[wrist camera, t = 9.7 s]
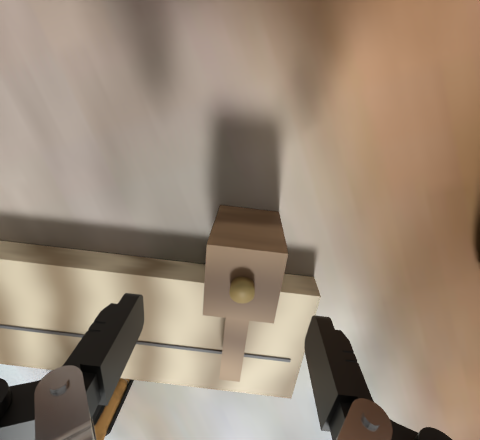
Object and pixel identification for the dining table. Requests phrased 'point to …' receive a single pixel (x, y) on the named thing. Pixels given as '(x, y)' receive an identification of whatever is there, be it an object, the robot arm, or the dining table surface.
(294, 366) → the board
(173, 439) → the dining table surface
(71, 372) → the robot arm
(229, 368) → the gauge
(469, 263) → the dining table surface
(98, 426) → the ammunition clip
